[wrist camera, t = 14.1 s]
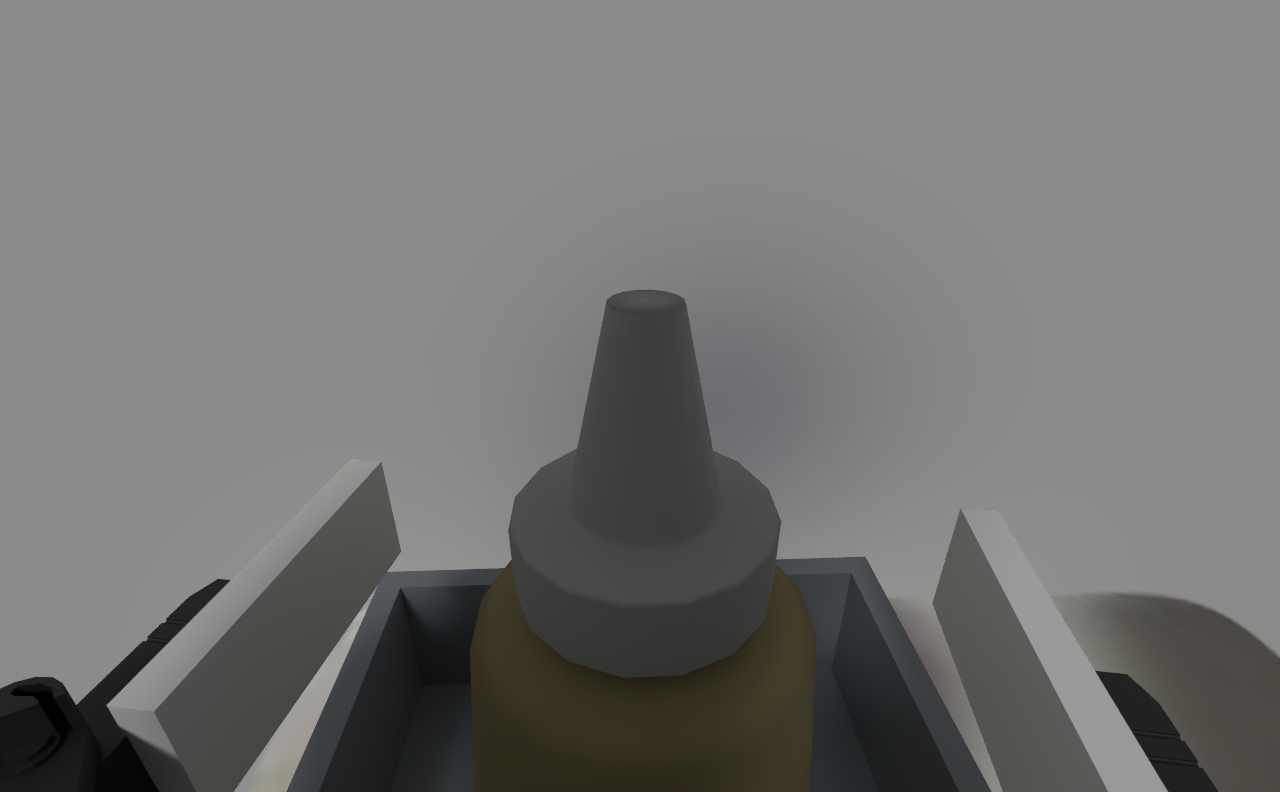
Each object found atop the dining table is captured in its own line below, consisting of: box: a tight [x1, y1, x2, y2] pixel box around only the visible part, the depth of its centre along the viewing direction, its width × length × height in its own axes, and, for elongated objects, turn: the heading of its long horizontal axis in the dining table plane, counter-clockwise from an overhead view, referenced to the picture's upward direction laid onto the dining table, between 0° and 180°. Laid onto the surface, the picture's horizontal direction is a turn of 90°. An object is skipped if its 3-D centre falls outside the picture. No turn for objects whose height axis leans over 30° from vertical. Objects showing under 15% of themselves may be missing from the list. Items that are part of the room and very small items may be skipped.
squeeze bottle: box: [470, 290, 817, 792], centre depth 13 cm, size 8×8×18 cm
